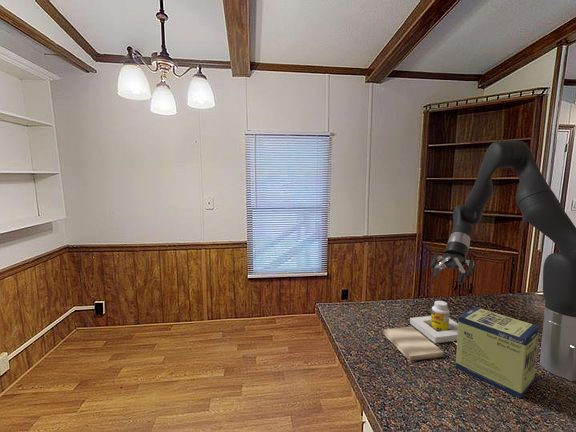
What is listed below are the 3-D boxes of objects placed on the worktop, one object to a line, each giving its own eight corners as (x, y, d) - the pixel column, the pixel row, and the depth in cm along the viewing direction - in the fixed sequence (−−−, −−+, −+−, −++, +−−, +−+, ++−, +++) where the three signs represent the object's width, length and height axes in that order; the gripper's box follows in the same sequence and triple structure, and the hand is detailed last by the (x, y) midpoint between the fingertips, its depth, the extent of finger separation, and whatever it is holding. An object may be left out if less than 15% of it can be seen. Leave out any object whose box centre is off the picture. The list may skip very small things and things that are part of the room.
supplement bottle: (427, 328, 105) (428, 300, 104) (439, 325, 107) (440, 298, 106) (439, 335, 100) (440, 307, 99) (452, 333, 102) (453, 304, 100)
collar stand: (472, 338, 98) (472, 332, 98) (435, 343, 95) (435, 337, 95) (443, 319, 111) (443, 314, 111) (409, 323, 109) (410, 317, 109)
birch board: (443, 356, 88) (443, 351, 88) (410, 360, 86) (410, 356, 86) (411, 330, 104) (411, 326, 103) (383, 333, 102) (383, 329, 102)
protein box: (522, 400, 70) (527, 339, 68) (454, 367, 83) (457, 315, 81) (535, 382, 76) (540, 325, 75) (470, 354, 89) (473, 305, 87)
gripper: (436, 238, 120) (425, 271, 113) (477, 243, 110) (467, 279, 103) (440, 248, 124) (429, 281, 118) (479, 254, 114) (470, 290, 108)
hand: (447, 280), depth 111 cm, fingers open, 8 cm apart
